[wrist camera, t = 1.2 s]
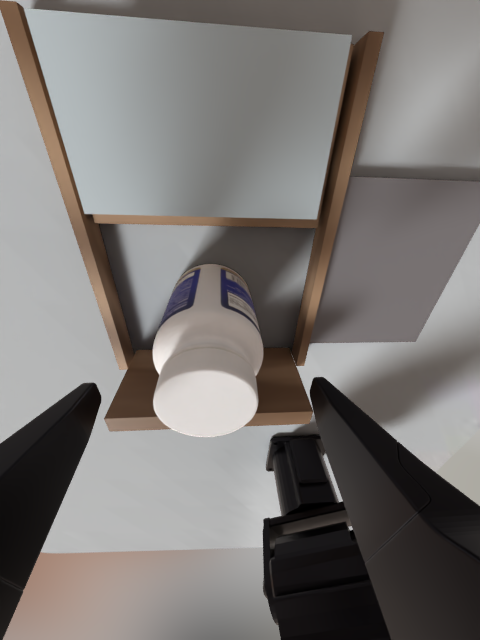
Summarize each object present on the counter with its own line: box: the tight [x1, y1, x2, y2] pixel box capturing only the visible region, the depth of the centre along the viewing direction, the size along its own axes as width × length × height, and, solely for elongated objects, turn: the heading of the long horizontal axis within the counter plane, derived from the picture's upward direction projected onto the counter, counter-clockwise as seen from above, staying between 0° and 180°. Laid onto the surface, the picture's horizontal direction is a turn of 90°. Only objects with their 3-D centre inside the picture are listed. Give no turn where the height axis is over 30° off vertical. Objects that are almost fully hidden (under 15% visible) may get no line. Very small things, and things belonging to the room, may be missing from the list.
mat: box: [310, 176, 480, 343], centre depth 16 cm, size 11×9×1 cm
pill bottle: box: [153, 264, 263, 437], centre depth 13 cm, size 5×5×9 cm
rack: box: [0, 0, 384, 431], centre depth 12 cm, size 18×14×6 cm
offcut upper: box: [24, 8, 352, 219], centre depth 9 cm, size 5×9×2 cm, turn 88°
